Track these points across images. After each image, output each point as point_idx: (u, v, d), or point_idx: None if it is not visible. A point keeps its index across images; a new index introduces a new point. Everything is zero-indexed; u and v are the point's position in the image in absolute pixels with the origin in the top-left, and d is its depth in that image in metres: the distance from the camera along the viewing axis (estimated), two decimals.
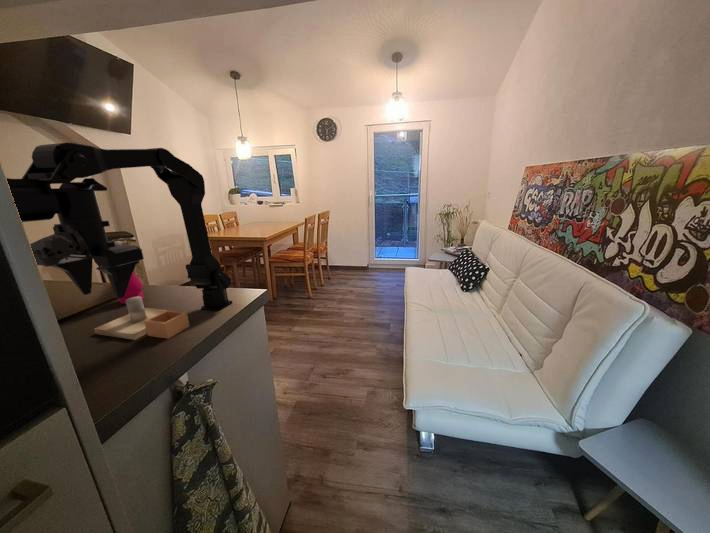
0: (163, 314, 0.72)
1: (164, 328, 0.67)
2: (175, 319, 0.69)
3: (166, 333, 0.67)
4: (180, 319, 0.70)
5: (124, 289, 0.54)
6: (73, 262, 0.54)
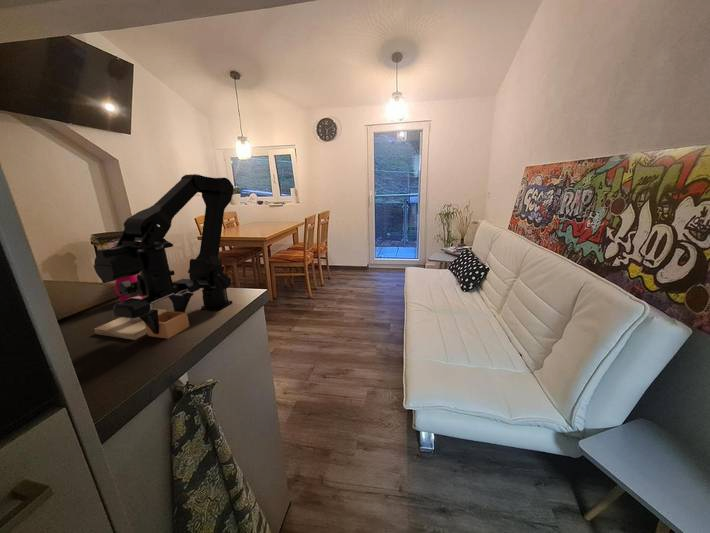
0: (163, 314, 0.72)
1: (164, 328, 0.67)
2: (175, 319, 0.69)
3: (166, 333, 0.67)
4: (180, 319, 0.70)
5: (154, 329, 0.67)
6: (175, 296, 0.73)
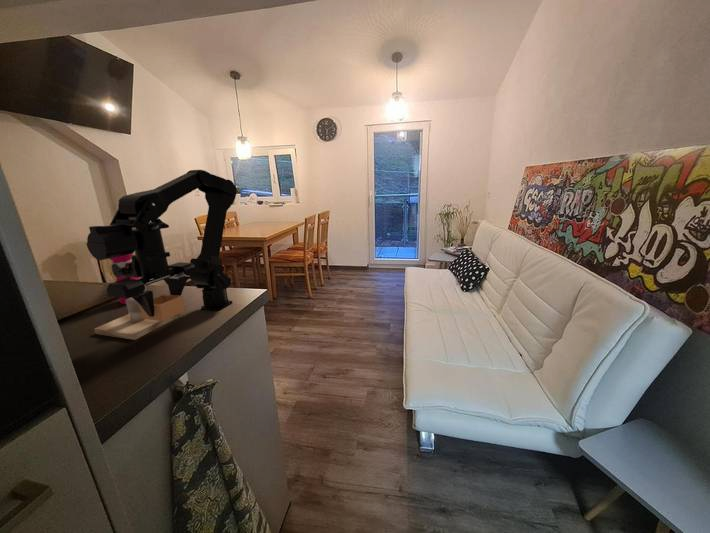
0: (159, 297, 0.71)
1: (160, 310, 0.65)
2: (171, 302, 0.68)
3: (161, 316, 0.66)
4: (176, 302, 0.69)
5: (149, 311, 0.65)
6: (171, 280, 0.71)
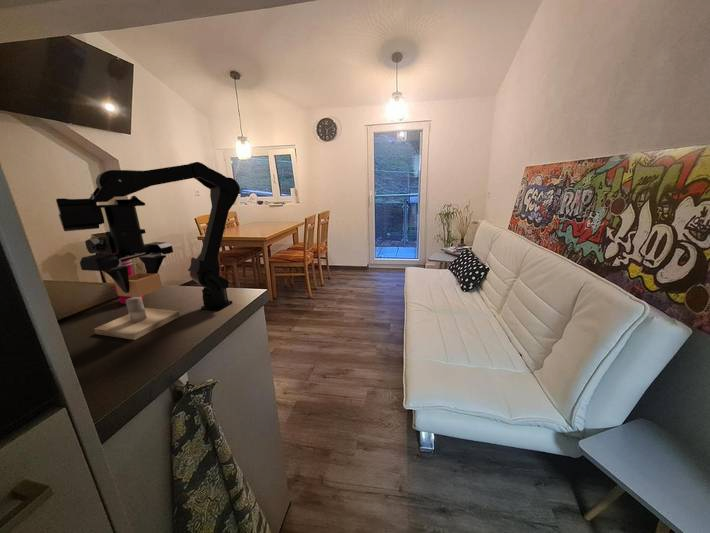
0: (134, 275, 0.71)
1: (135, 286, 0.66)
2: (146, 278, 0.68)
3: (137, 291, 0.66)
4: (152, 279, 0.70)
5: (124, 287, 0.66)
6: (147, 258, 0.72)
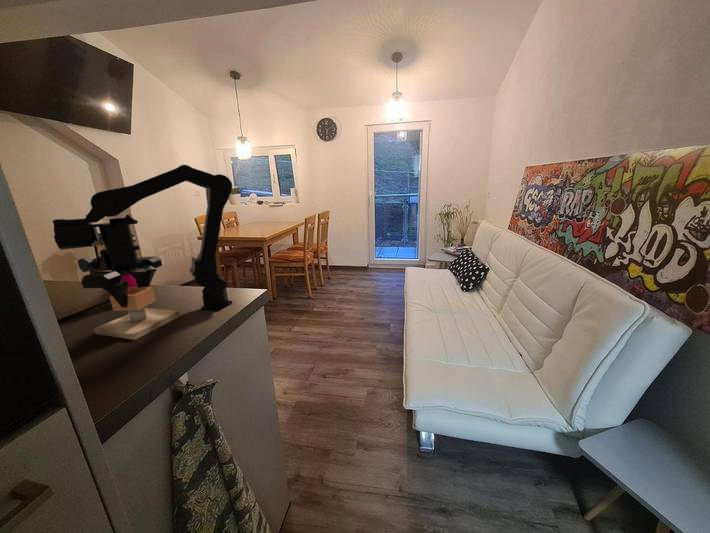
0: None
1: (134, 300, 0.69)
2: (143, 292, 0.72)
3: (136, 305, 0.70)
4: (147, 292, 0.73)
5: (123, 302, 0.69)
6: (138, 272, 0.75)
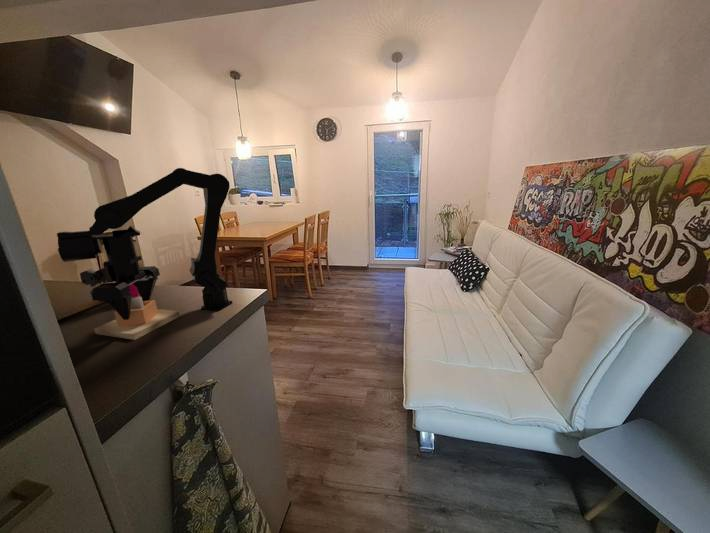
0: None
1: (142, 314, 0.71)
2: (148, 306, 0.74)
3: (143, 319, 0.72)
4: (151, 306, 0.75)
5: (126, 314, 0.69)
6: (140, 281, 0.77)
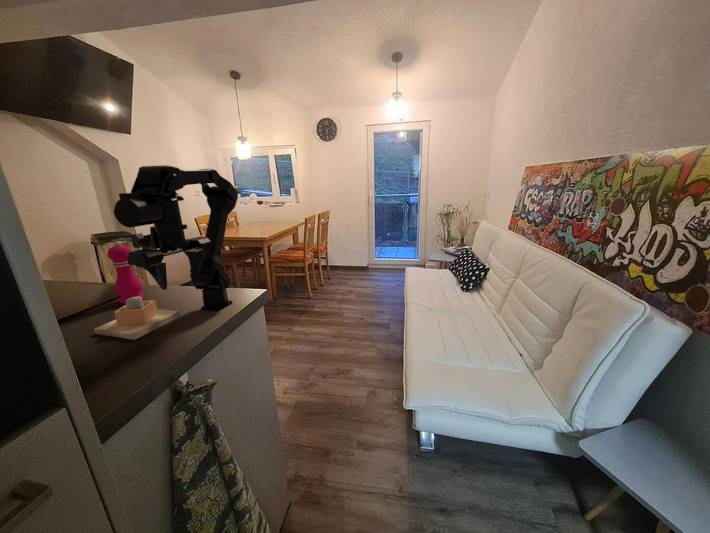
0: None
1: (142, 314, 0.71)
2: (148, 306, 0.74)
3: (143, 319, 0.72)
4: (151, 306, 0.75)
5: (162, 284, 0.65)
6: (191, 252, 0.73)
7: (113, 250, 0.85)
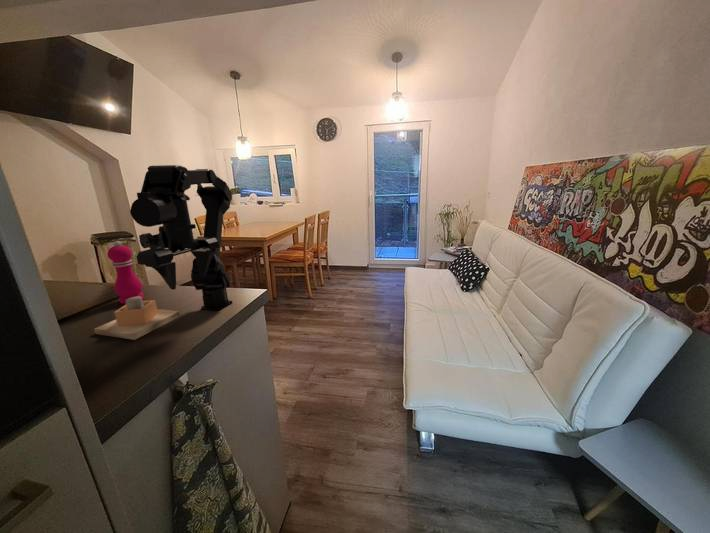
0: None
1: (142, 314, 0.71)
2: (148, 306, 0.74)
3: (143, 319, 0.72)
4: (151, 306, 0.75)
5: (171, 284, 0.65)
6: (198, 252, 0.73)
7: (113, 250, 0.85)
